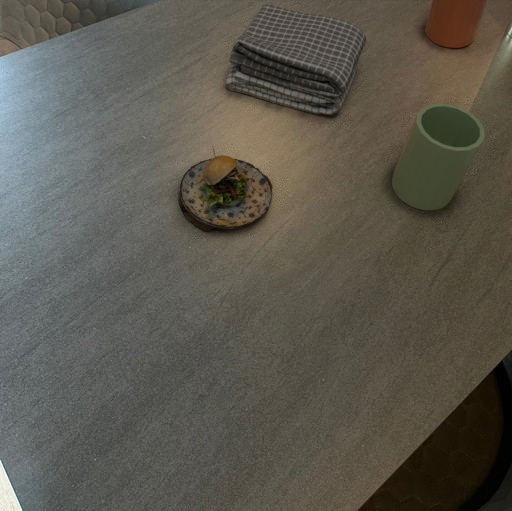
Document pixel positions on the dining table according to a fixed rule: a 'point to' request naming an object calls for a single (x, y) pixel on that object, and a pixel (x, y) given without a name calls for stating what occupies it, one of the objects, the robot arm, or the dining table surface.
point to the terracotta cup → (454, 21)
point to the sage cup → (436, 155)
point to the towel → (296, 59)
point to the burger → (224, 193)
